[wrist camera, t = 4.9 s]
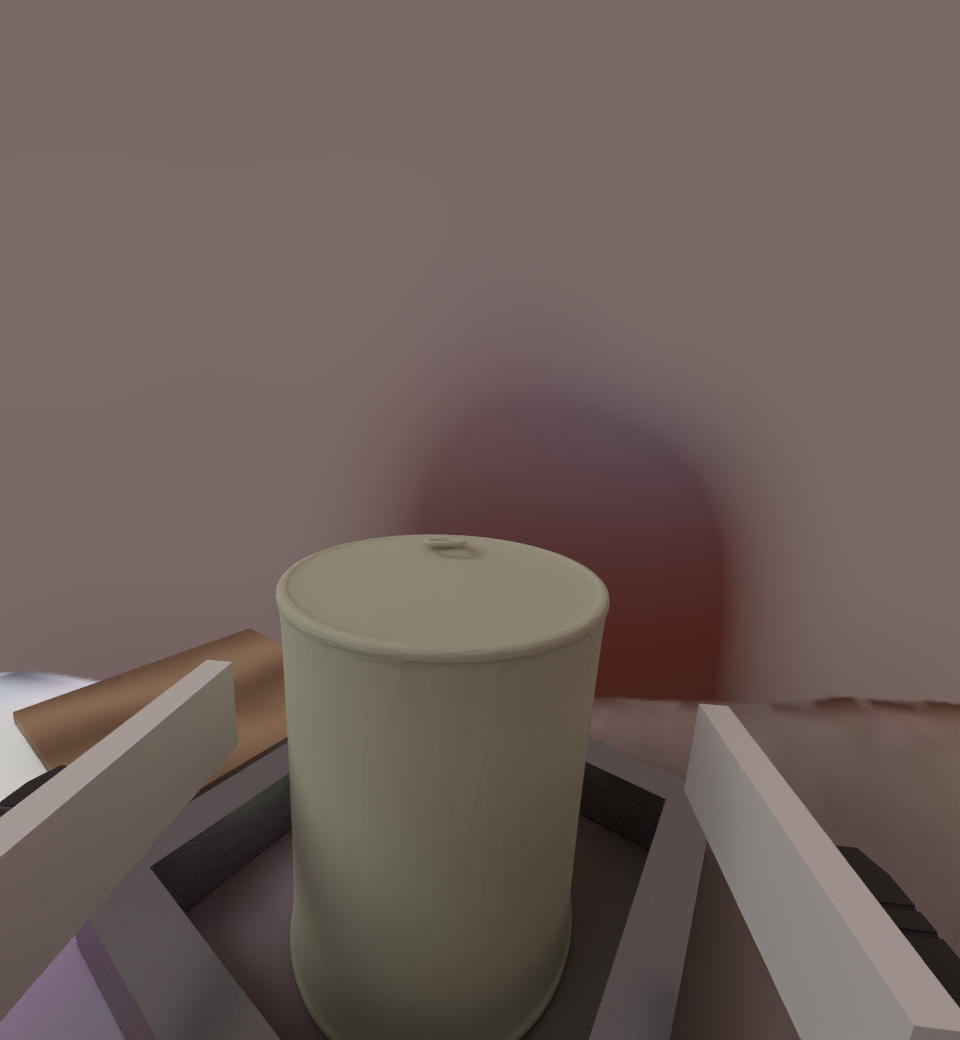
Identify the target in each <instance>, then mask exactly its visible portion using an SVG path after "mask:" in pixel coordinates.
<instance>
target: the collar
mask: <svg viewBox="0 0 960 1040" xmlns="http://www.w3.org/2000/svg"><path fill="white" fill-rule="evenodd" d="M685 781H686V779H683V778H681V777H679V776H677V775H674V774H672V773H670V772H667V771H665V770H663V769H660V768H658V767H656V766H654V765H651V764H649V763H647V762H644V761H642V760H640V759H638V758H635V757H633V756H631V755H628V754H626V753H624V752H622V751H619V750H617V749H615V748H612V747H610V746H608V745H606V744H603V743H601V742H599V741H596V740H594V739H592V738H589V737H588V745H587V753H586V761H585V769H584V778H583V786H582V794H581V802H580V810H579V813H581V814H583V815H584V816H586V817H588V818H590V819H592V820H594V821H596V822H598V823H599V824H601V825H603V826H605V827H607V828H609V829H611V830H612V831H614V832H616V833H618V834H620V835H622V836H624V837H625V838H627V839H629V840H631V841H633V842H635V843H637V844H639V845H640V846H642V847H644V848H646V849H648V850H650V851H649V854H648V857H647V860H646V863H645V866H644V869H643V873H642V876H641V879H640V882H639V885H638V888H637V891H636V894H635V897H634V901H633V904H632V907H631V910H630V913H629V916H628V919H627V922H626V925H625V929H624V932H623V935H622V938H621V941H620V944H619V947H618V950H617V953H616V957H615V960H614V963H613V966H612V969H611V972H610V975H609V978H608V981H607V985H606V988H605V991H604V994H603V997H602V1000H601V1003H600V1006H599V1009H598V1013H597V1016H596V1019H595V1022H594V1025H593V1028H592V1031H591V1034H590V1037H589V1040H670V1037H671V1032H672V1026H673V1021H674V1015H675V1010H676V1005H677V999H678V994H679V989H680V983H681V978H682V972H683V967H684V962H685V956H686V951H687V945H688V940H689V935H690V929H691V924H692V919H693V913H694V908H695V902H696V897H697V892H698V886H699V881H700V876H701V870H702V865H703V859H704V854H705V849H706V843H707V838H706V836H705V834H704V832H703V830H702V828H701V826H700V823H699V821H698V819H697V817H696V815H695V813H694V811H693V808H692V806H691V804H690V802H689V800H688V798H687V796H686V794H685V791H684V786H685ZM291 828H292V821H291V798H290V776H289V755H288V742H287V743H286V744H284V745H282V746H281V747H279V748H278V749H276V750H274V751H273V752H271V753H269V754H268V755H266V756H264V757H263V758H261V759H260V760H258V761H256V762H255V763H253V764H251V765H250V766H248V767H246V768H245V769H243V770H242V771H240V772H238V773H237V774H235V775H233V776H232V777H230V778H229V779H227V780H225V781H224V782H222V783H220V784H219V785H217V786H215V787H214V788H212V789H211V790H209V791H207V792H206V793H204V794H202V795H201V796H199V797H197V798H196V799H194V800H193V801H191V802H189V803H188V804H187V805H186V806H185V807H184V809H183V810H182V811H181V812H180V813H179V814H178V816H177V817H176V818H175V819H174V820H173V821H172V823H171V824H170V825H169V826H168V827H167V828H166V830H165V831H164V832H163V833H162V834H161V835H160V837H159V838H158V839H157V840H156V841H155V842H154V843H153V845H152V846H151V847H150V848H149V849H148V850H147V852H146V853H145V854H144V855H143V856H142V857H141V859H140V860H139V861H138V862H137V863H136V864H135V866H134V867H133V868H132V869H131V870H130V871H129V873H128V874H127V875H126V876H125V877H124V878H123V879H122V881H121V882H120V883H119V884H118V885H117V886H116V888H115V889H114V890H113V891H112V892H111V893H110V895H109V896H108V897H107V898H106V899H105V900H104V902H103V903H102V904H101V905H100V906H99V907H98V908H97V910H96V911H95V912H94V913H93V914H92V915H91V917H90V918H89V919H88V920H87V921H86V922H85V924H84V925H83V926H82V927H81V928H80V929H79V931H78V932H77V933H76V934H75V935H76V940H77V946H78V948H79V950H80V952H81V954H82V956H83V958H84V960H85V962H86V963H87V965H88V967H89V969H90V971H91V973H92V975H93V977H94V979H95V981H96V983H97V985H98V986H99V988H100V990H101V992H102V994H103V996H104V998H105V1000H106V1002H107V1004H108V1006H109V1008H110V1010H111V1011H112V1013H113V1015H114V1017H115V1019H116V1021H117V1023H118V1025H119V1027H120V1029H121V1031H122V1033H123V1034H124V1036H125V1038H126V1040H280V1039H279V1037H278V1036H277V1035H276V1033H275V1032H274V1031H273V1029H272V1028H271V1027H270V1025H269V1024H268V1023H267V1021H266V1020H265V1019H264V1017H263V1016H262V1015H261V1013H260V1012H259V1011H258V1009H257V1008H256V1007H255V1006H254V1004H253V1003H252V1002H251V1000H250V999H249V998H248V996H247V995H246V994H245V992H244V991H243V990H242V988H241V987H240V986H239V984H238V983H237V982H236V980H235V979H234V978H233V976H232V975H231V974H230V972H229V971H228V970H227V969H226V967H225V966H224V965H223V963H222V962H221V961H220V959H219V958H218V957H217V955H216V954H215V953H214V951H213V950H212V949H211V947H210V946H209V945H208V943H207V942H206V941H205V940H204V938H203V937H202V936H201V934H200V933H199V932H198V930H197V929H196V928H195V926H194V925H193V924H192V922H191V921H190V920H189V918H188V917H187V916H186V914H185V912H186V911H187V910H189V909H190V908H191V907H192V906H194V905H195V904H196V903H197V902H199V901H200V900H201V899H202V898H204V897H205V896H206V895H207V894H209V893H210V892H211V891H213V890H214V889H215V888H216V887H218V886H219V885H220V884H221V883H223V882H224V881H225V880H226V879H228V878H229V877H230V876H232V875H233V874H234V873H235V872H237V871H238V870H239V869H240V868H242V867H243V866H244V865H245V864H247V863H248V862H249V861H250V860H252V859H253V858H254V857H256V856H257V855H258V854H259V853H261V852H262V851H263V850H264V849H266V848H267V847H268V846H269V845H271V844H272V843H273V842H274V841H276V840H277V839H278V838H280V837H281V836H282V835H283V834H285V833H286V832H287V831H288V830H290V829H291Z"/></svg>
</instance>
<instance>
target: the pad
mask: <svg viewBox="0 0 960 1040" xmlns="http://www.w3.org/2000/svg"><path fill="white" fill-rule="evenodd" d="M206 660H216V661H228V662H232V664H233V678H234V692H235V706H236V721H237V735H238V746H237V747H236V748H235V749H234V751H233V752H232V753H231V754H230V755H229V756H228V758H227V759H226V760H225V761H224V762H223V763H222V765H221V766H220V767H219V768H218V769H217V770H216V771H215V773H214V774H213V775H212V776H211V777H210V778H209V780H208V781H207V782H206V783H205V784H204V785H203V787H202V788H201V789H200V790H199V791H198V792H197V794H196V795H195V796H194V797H193V798H192V799H191V801H193V800H194V799H196V798H197V797H199V796H201V795H202V794H204V793H206V792H207V791H209V790H211V789H212V788H214V787H215V786H217V785H219V784H220V783H222V782H224V781H225V780H227V779H229V778H230V777H232V776H233V775H235V774H237V773H238V772H240V771H242V770H243V769H245V768H246V767H248V766H250V765H251V764H253V763H255V762H256V761H258V760H260V759H261V758H263V757H264V756H266V755H268V754H269V753H271V752H273V751H274V750H276V749H278V748H279V747H281V746H282V745H284V744H286V743H287V742H288V737H287V719H286V702H285V684H284V666H283V648H282V645H281V644H279V643H277V642H275V641H273V640H271V639H269V638H267V637H265V636H263V635H262V634H259V633H258V632H256V631H254V630H252V629H247V630H244V631H241V632H238V633H235V634H233V635H230V636H227V637H224V638H221V639H219V640H216V641H213V642H210V643H207V644H205V645H202V646H199V647H196V648H193V649H190V650H187V651H185V652H182V653H179V654H176V655H173V656H171V657H168V658H165V659H162V660H159V661H156V662H154V663H151V664H148V665H145V666H142V667H139V668H137V669H134V670H131V671H128V672H125V673H123V674H120V675H117V676H114V677H111V678H108V679H106V680H103V681H100V682H97V683H94V684H91V685H89V686H86V687H83V688H80V689H77V690H75V691H72V692H69V693H66V694H63V695H60V696H58V697H55V698H52V699H49V700H46V701H43V702H41V703H38V704H35V705H32V706H29V707H27V708H24V709H21V710H18V711H15V712H13V716H14V722H15V724H16V726H17V727H18V729H19V730H20V731H21V733H22V734H23V736H24V737H25V739H26V740H27V742H28V743H29V745H30V746H31V748H32V749H33V751H34V752H35V753H36V755H37V756H38V758H39V759H40V761H41V762H42V764H43V765H44V767H45V768H46V770H47V771H50V770H52V769H54V768H56V767H58V766H60V765H65V766H68V765H70V764H71V763H72V762H74V761H75V760H76V759H77V758H79V757H80V756H81V755H83V754H84V753H85V752H87V751H88V750H89V749H91V748H92V747H93V746H94V745H96V744H97V743H98V742H100V741H101V740H102V739H104V738H105V737H106V736H108V735H109V734H110V733H111V732H113V731H114V730H115V729H117V728H118V727H119V726H121V725H122V724H123V723H125V722H126V721H127V720H129V719H130V718H131V717H132V716H134V715H135V714H136V713H138V712H139V711H140V710H142V709H143V708H144V707H146V706H147V705H148V704H149V703H151V702H152V701H153V700H155V699H156V698H157V697H159V696H160V695H161V694H163V693H164V692H165V691H167V690H168V689H169V688H170V687H172V686H173V685H174V684H176V683H177V682H178V681H180V680H181V679H182V678H184V677H185V676H186V675H187V674H189V673H190V672H191V671H193V670H194V669H195V668H197V667H198V666H199V665H201V664H202V663H203V662H204V661H206ZM191 801H190V802H191Z"/></svg>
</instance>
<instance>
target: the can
mask: <svg viewBox="0 0 960 1040" xmlns="http://www.w3.org/2000/svg"><path fill="white" fill-rule="evenodd" d="M276 600H277V605H278V607H279V613H280V621H281V634H282V648H283V666H284V684H285V702H286V719H287V737H288V755H289V776H290V798H291V821H292V844H293V897H294V903H293V909H292V914H291V924H290V953H291V962H292V968H293V972H294V977H295V981H296V984H297V987H298V990H299V993H300V995H301V998H302V1000H303V1002H304V1004H305V1006H306V1008H307V1010H308V1012H309V1014H310V1015H311V1017H312V1019H313V1020H314V1022H315V1023H316V1025H317V1026H318V1028H319V1029H320V1031H321V1032H322V1033H323V1034H324V1035H325V1036H326V1037H327V1038H328V1040H520V1039H521V1038H522V1037H523V1036H524V1035H525V1034H526V1033H527V1032H528V1031H529V1030H530V1029H531V1028H532V1026H533V1025H534V1024H535V1023H536V1022H537V1021H538V1019H539V1018H540V1017H541V1015H542V1014H543V1012H544V1011H545V1009H546V1007H547V1006H548V1004H549V1003H550V1001H551V999H552V997H553V995H554V993H555V991H556V989H557V987H558V984H559V982H560V979H561V977H562V974H563V971H564V968H565V965H566V961H567V957H568V952H569V946H570V940H571V932H572V907H571V897H570V895H571V883H572V874H573V864H574V855H575V845H576V836H577V827H578V818H579V810H580V802H581V794H582V786H583V778H584V769H585V761H586V753H587V745H588V737H589V729H590V722H591V714H592V707H593V699H594V692H595V685H596V677H597V670H598V662H599V655H600V648H601V641H602V633H603V629H604V623H605V618H606V615H607V613H608V609H609V604H610V601H609V593H608V591H607V588H606V586H605V585H604V583H603V582H602V580H601V579H599V578H598V577H597V575H596V574H594V573H593V572H592V571H591V570H589V569H588V568H586V567H585V566H583V565H581V564H579V563H578V562H576V561H574V560H572V559H569V558H567V557H565V556H562V555H559V554H557V553H554V552H551V551H547V550H544V549H541V548H538V547H534V546H529V545H525V544H521V543H516V542H511V541H505V540H499V539H492V538H484V537H474V536H460V535H404V536H391V537H382V538H375V539H367V540H361V541H356V542H352V543H347V544H343V545H338V546H335V547H332V548H329V549H326V550H323V551H319V552H317V553H315V554H313V555H310V556H308V557H306V558H304V559H302V560H301V561H299V562H297V563H295V564H294V565H293V566H292V567H290V568H289V569H288V570H287V571H286V572H285V573H284V574H283V575H282V577H281V579H280V580H279V582H278V585H277V588H276Z"/></svg>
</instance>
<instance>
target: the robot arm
mask: <svg viewBox="0 0 960 1040" xmlns="http://www.w3.org/2000/svg"><path fill="white" fill-rule="evenodd" d="M237 746H238V735H237V721H236V706H235V692H234V678H233V664H232V662H228V661H216V660H206V661H204V662H203V663H202V664H201V665H199V666H198V667H197V668H195V669H194V670H193V671H191V672H190V673H189V674H187V675H186V676H185V677H184V678H182V679H181V680H180V681H178V682H177V683H176V684H174V685H173V686H172V687H170V688H169V689H168V690H167V691H165V692H164V693H163V694H161V695H160V696H159V697H157V698H156V699H155V700H153V701H152V702H151V703H149V704H148V705H147V706H146V707H144V708H143V709H142V710H140V711H139V712H138V713H136V714H135V715H134V716H132V717H131V718H130V719H129V720H127V721H126V722H125V723H123V724H122V725H121V726H119V727H118V728H117V729H115V730H114V731H113V732H111V733H110V734H109V735H108V736H106V737H105V738H104V739H102V740H101V741H100V742H98V743H97V744H96V745H94V746H93V747H92V748H91V749H89V750H88V751H87V752H85V753H84V754H83V755H81V756H80V757H79V758H77V759H76V760H75V761H74V762H72V763H71V764H70V765H68V766H65V765H60V766H58V767H56V768H54V769H52V770H50V771H48V772H46V773H44V774H42V775H40V776H38V777H36V778H35V779H33V780H31V781H29V782H27V783H25V784H24V785H23V786H21V787H20V788H19V789H17V790H16V791H15V792H13V793H12V794H10V795H9V796H8V797H6V798H5V799H4V800H2V801H1V802H0V1021H1V1020H2V1019H3V1018H4V1016H5V1015H6V1014H7V1013H8V1012H9V1011H10V1010H11V1008H12V1007H13V1006H14V1005H15V1004H16V1003H17V1001H18V1000H19V999H20V998H21V997H22V996H23V994H24V993H25V992H26V991H27V990H28V989H29V987H30V986H31V985H32V984H33V983H34V982H35V980H36V979H37V978H38V977H39V976H40V975H41V974H42V972H43V971H44V970H45V969H46V968H47V967H48V965H49V964H50V963H51V962H52V961H53V960H54V958H55V957H56V956H57V955H58V954H59V953H60V951H61V950H62V949H63V948H64V947H65V946H66V944H67V943H68V942H69V941H70V940H71V939H72V938H73V936H74V935H75V934H76V933H77V932H78V931H79V929H80V928H81V927H82V926H83V925H84V924H85V922H86V921H87V920H88V919H89V918H90V917H91V915H92V914H93V913H94V912H95V911H96V910H97V908H98V907H99V906H100V905H101V904H102V903H103V902H104V900H105V899H106V898H107V897H108V896H109V895H110V893H111V892H112V891H113V890H114V889H115V888H116V886H117V885H118V884H119V883H120V882H121V881H122V879H123V878H124V877H125V876H126V875H127V874H128V873H129V871H130V870H131V869H132V868H133V867H134V866H135V864H136V863H137V862H138V861H139V860H140V859H141V857H142V856H143V855H144V854H145V853H146V852H147V850H148V849H149V848H150V847H151V846H152V845H153V843H154V842H155V841H156V840H157V839H158V838H159V837H160V835H161V834H162V833H163V832H164V831H165V830H166V828H167V827H168V826H169V825H170V824H171V823H172V821H173V820H174V819H175V818H176V817H177V816H178V814H179V813H180V812H181V811H182V810H183V809H184V807H185V806H186V805H187V804H188V803H189V802H190V801H191V799H192V798H193V797H194V796H195V795H196V794H197V792H198V791H199V790H200V789H201V788H202V787H203V785H204V784H205V783H206V782H207V781H208V780H209V778H210V777H211V776H212V775H213V774H214V773H215V771H216V770H217V769H218V768H219V767H220V766H221V765H222V763H223V762H224V761H225V760H226V759H227V758H228V756H229V755H230V754H231V753H232V752H233V751H234V749H235V748H236V747H237ZM684 791H685V794H686V796H687V798H688V800H689V802H690V804H691V806H692V808H693V811H694V813H695V815H696V817H697V819H698V821H699V823H700V826H701V828H702V830H703V832H704V834H705V836H706V838H707V840H708V843H709V845H710V847H711V849H712V851H713V853H714V855H715V858H716V860H717V862H718V864H719V866H720V868H721V870H722V872H723V875H724V877H725V879H726V881H727V883H728V885H729V887H730V890H731V892H732V894H733V896H734V898H735V900H736V902H737V905H738V907H739V909H740V911H741V913H742V915H743V917H744V919H745V922H746V924H747V926H748V928H749V930H750V932H751V934H752V937H753V939H754V941H755V943H756V945H757V947H758V949H759V951H760V954H761V956H762V958H763V960H764V962H765V964H766V966H767V969H768V971H769V973H770V975H771V977H772V979H773V981H774V984H775V986H776V988H777V990H778V992H779V994H780V996H781V998H782V1001H783V1003H784V1005H785V1007H786V1009H787V1011H788V1013H789V1016H790V1018H791V1020H792V1022H793V1024H794V1026H795V1028H796V1030H797V1033H798V1035H799V1037H800V1039H801V1040H960V959H959V958H958V956H957V955H956V954H955V953H954V952H953V950H952V949H951V948H950V947H949V946H948V945H947V943H946V942H945V941H944V940H943V939H940V938H939V937H938V935H937V931H936V930H935V929H934V928H933V927H932V925H931V924H930V923H929V922H928V921H927V919H926V918H925V917H924V916H923V915H922V913H921V912H917V911H916V909H915V905H914V904H913V903H912V901H911V900H910V899H909V898H908V897H907V896H906V894H905V893H904V892H903V891H902V890H901V888H900V887H899V886H898V885H897V884H896V882H895V881H894V880H893V879H892V878H891V876H890V875H889V874H888V873H886V872H885V871H884V870H883V869H882V868H880V867H879V866H878V865H877V864H876V863H874V862H873V861H872V860H871V859H869V858H868V857H867V856H866V855H865V854H863V853H862V852H861V851H860V850H859V849H857V848H853V847H843V846H835V845H834V844H833V842H832V841H831V840H830V838H829V837H828V836H827V834H826V833H825V832H824V831H823V829H822V828H821V827H820V825H819V824H818V823H817V821H816V820H815V819H814V818H813V816H812V815H811V814H810V812H809V811H808V810H807V808H806V807H805V806H804V804H803V803H802V802H801V801H800V799H799V798H798V797H797V795H796V794H795V793H794V791H793V790H792V789H791V788H790V786H789V785H788V784H787V782H786V781H785V780H784V778H783V777H782V776H781V774H780V773H779V772H778V771H777V769H776V768H775V767H774V765H773V764H772V763H771V761H770V760H769V759H768V758H767V756H766V755H765V754H764V752H763V751H762V750H761V748H760V747H759V746H758V744H757V743H756V742H755V741H754V739H753V738H752V737H751V735H750V734H749V733H748V731H747V730H746V729H745V727H744V726H743V725H742V724H741V722H740V721H739V720H738V718H737V717H736V716H735V714H734V713H733V712H732V711H731V709H730V708H729V707H728V706H720V705H709V704H699V707H698V712H697V718H696V724H695V729H694V735H693V741H692V747H691V752H690V758H689V764H688V769H687V775H686V781H685V786H684Z"/></svg>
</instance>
